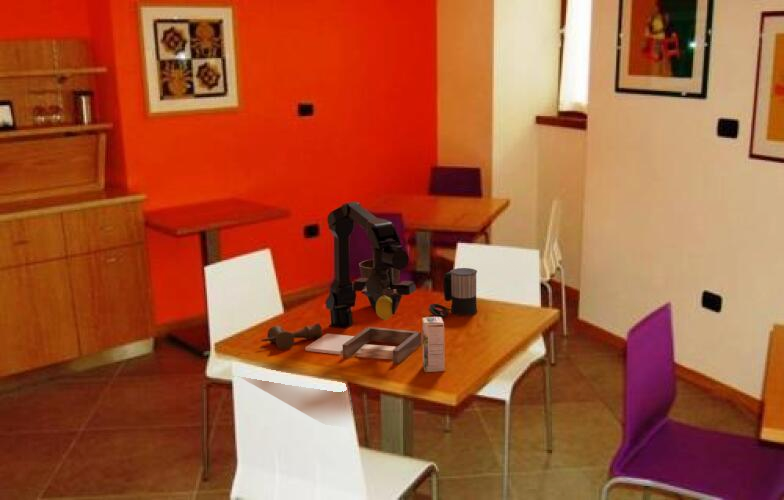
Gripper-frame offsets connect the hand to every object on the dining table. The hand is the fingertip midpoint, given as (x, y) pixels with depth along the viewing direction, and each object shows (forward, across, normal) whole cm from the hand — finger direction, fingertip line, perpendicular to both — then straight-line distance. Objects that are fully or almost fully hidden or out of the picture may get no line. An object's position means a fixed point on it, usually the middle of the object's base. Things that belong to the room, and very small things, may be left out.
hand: (385, 313), depth 246 cm
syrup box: (+11, +20, -12) cm, 26 cm away
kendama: (+12, -31, -5) cm, 33 cm away
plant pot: (+11, -20, +40) cm, 47 cm away
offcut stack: (+12, 0, -7) cm, 13 cm away
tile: (+11, -17, -2) cm, 20 cm away
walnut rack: (+11, 0, -2) cm, 11 cm away
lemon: (+2, 0, 0) cm, 2 cm away
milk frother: (+11, +8, +39) cm, 42 cm away
